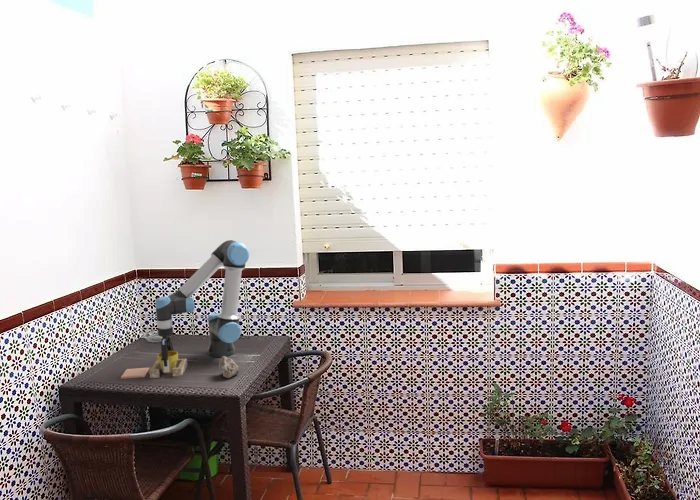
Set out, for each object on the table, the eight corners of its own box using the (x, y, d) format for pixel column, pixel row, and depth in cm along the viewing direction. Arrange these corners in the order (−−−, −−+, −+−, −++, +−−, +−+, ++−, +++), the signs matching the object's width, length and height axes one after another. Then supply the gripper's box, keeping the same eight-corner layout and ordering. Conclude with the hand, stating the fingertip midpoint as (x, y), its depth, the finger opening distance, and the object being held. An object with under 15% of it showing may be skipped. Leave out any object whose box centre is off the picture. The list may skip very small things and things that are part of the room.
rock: (226, 385, 328) (238, 370, 327) (209, 370, 329) (221, 355, 328) (232, 381, 337) (244, 366, 336) (215, 366, 338) (226, 351, 337)
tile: (150, 369, 349) (150, 367, 349) (144, 377, 337) (144, 375, 337) (127, 370, 348) (127, 368, 348) (121, 378, 336) (120, 376, 336)
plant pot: (173, 375, 337) (172, 357, 336) (155, 374, 340) (153, 356, 338) (182, 368, 348) (181, 350, 346) (164, 368, 350) (162, 350, 348)
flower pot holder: (187, 365, 352) (186, 358, 351) (181, 376, 336) (181, 368, 336) (156, 367, 351) (156, 360, 350) (150, 378, 335) (149, 370, 335)
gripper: (162, 321, 351) (165, 361, 354) (152, 333, 328) (156, 376, 332) (176, 321, 351) (180, 360, 355) (168, 332, 329) (171, 375, 332)
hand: (168, 368), depth 343 cm, fingers closed on plant pot, 10 cm apart
